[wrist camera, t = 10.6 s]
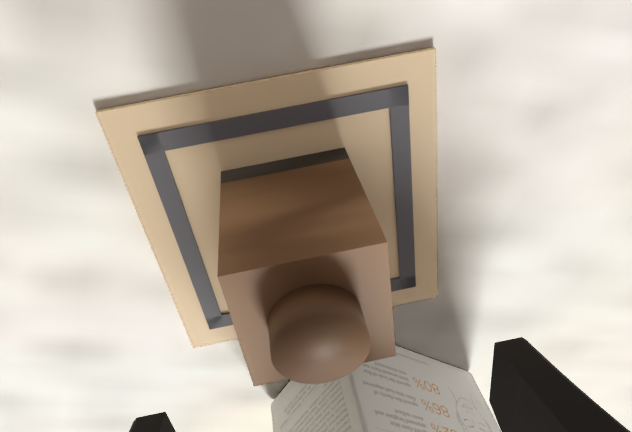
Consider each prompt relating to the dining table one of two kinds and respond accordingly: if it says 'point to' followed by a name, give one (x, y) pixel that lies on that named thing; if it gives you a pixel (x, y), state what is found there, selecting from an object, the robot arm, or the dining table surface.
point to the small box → (387, 400)
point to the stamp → (304, 269)
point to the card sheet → (276, 144)
